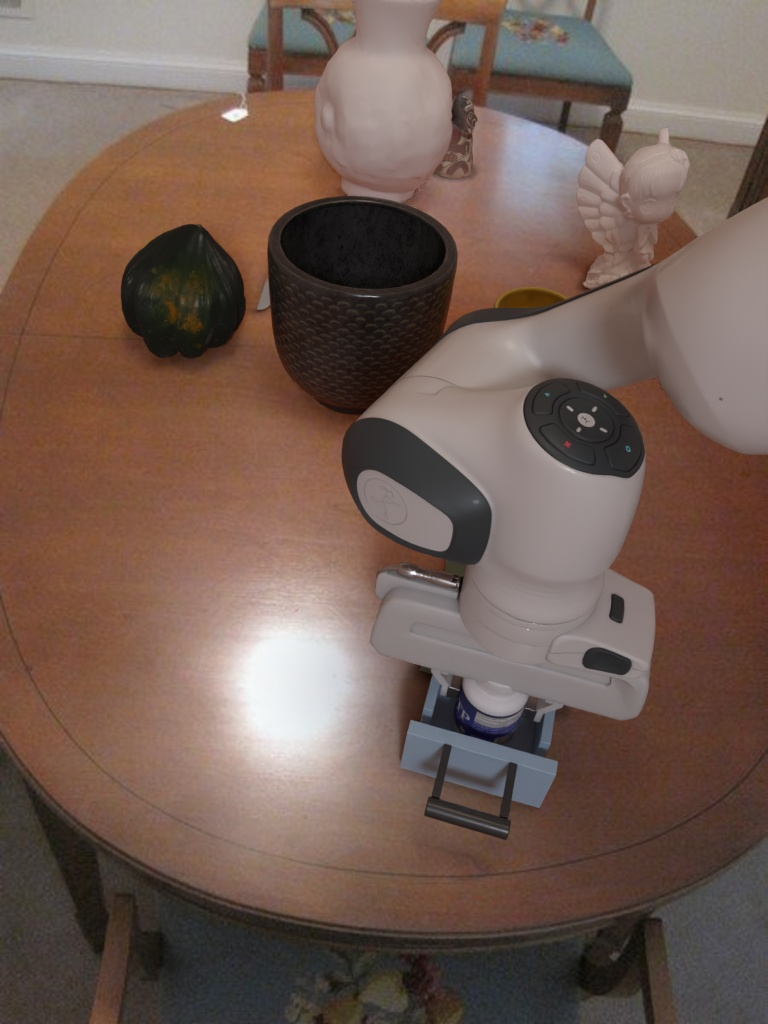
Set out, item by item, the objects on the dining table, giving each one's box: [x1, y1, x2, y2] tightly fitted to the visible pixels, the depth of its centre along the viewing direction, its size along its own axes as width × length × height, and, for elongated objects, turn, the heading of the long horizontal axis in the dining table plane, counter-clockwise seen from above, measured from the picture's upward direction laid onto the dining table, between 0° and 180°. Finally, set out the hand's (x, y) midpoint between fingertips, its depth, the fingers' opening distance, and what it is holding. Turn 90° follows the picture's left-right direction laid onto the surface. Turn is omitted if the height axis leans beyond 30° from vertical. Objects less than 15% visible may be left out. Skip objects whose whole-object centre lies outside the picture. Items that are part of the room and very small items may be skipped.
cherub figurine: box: [575, 127, 691, 290], centre depth 116 cm, size 13×12×20 cm
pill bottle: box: [453, 677, 529, 746], centre depth 67 cm, size 5×5×9 cm
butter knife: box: [256, 277, 270, 311], centre depth 119 cm, size 1×24×3 cm
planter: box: [266, 195, 459, 416], centre depth 95 cm, size 20×20×19 cm
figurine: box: [433, 92, 479, 179], centre depth 138 cm, size 7×7×12 cm
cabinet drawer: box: [399, 674, 559, 841], centre depth 68 cm, size 18×11×6 cm, turn 165°
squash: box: [120, 223, 247, 360], centre depth 102 cm, size 14×15×15 cm
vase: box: [313, 0, 453, 203], centre depth 124 cm, size 19×21×30 cm
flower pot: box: [493, 286, 569, 308], centre depth 103 cm, size 10×10×10 cm
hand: (491, 701), depth 68 cm, fingers closed on pill bottle, 5 cm apart
